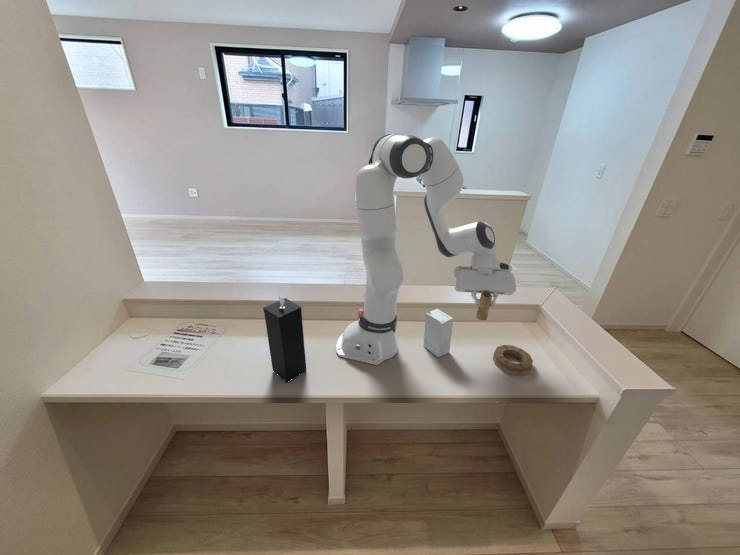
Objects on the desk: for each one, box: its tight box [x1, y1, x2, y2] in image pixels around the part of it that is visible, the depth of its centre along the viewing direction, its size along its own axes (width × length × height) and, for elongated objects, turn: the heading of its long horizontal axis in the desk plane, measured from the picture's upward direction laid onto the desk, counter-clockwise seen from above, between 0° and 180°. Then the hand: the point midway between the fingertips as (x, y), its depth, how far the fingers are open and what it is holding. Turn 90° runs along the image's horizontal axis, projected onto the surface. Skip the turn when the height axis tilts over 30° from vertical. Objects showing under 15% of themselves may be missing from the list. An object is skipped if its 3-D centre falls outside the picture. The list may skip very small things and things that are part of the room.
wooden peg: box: [475, 291, 493, 321], centre depth 107 cm, size 4×4×10 cm
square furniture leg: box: [262, 295, 307, 383], centre depth 96 cm, size 8×8×28 cm
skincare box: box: [423, 308, 454, 358], centre depth 111 cm, size 8×6×15 cm
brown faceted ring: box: [492, 344, 534, 376], centre depth 108 cm, size 12×12×3 cm
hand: (485, 305), depth 106 cm, fingers closed on wooden peg, 4 cm apart
